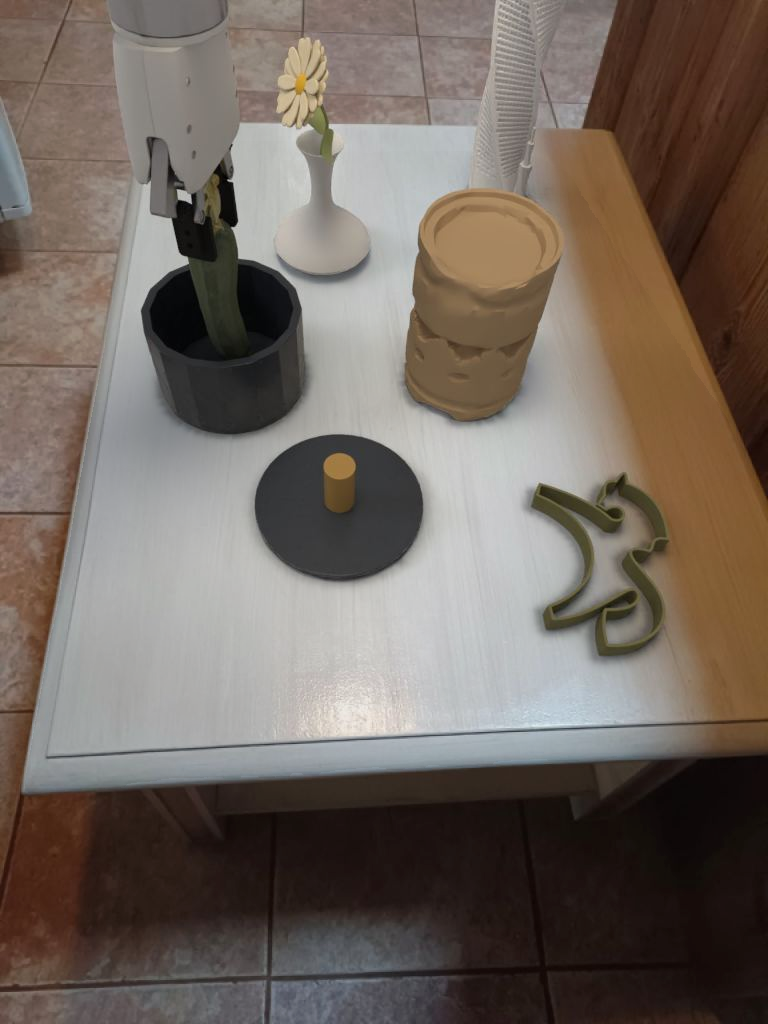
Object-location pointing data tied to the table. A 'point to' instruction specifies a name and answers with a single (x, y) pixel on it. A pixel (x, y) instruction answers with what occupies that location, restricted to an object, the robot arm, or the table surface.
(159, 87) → the robot arm
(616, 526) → the cookie cutter
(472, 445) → the table surface
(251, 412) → the pot
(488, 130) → the skyscraper
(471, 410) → the container
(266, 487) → the lid
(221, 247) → the vegetable
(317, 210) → the flower in vase
